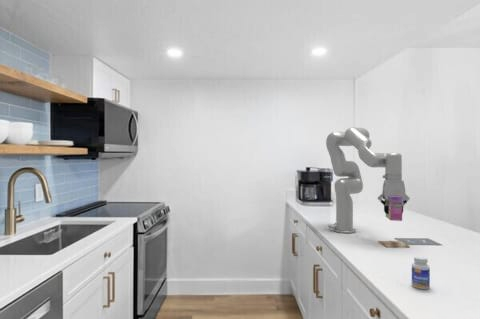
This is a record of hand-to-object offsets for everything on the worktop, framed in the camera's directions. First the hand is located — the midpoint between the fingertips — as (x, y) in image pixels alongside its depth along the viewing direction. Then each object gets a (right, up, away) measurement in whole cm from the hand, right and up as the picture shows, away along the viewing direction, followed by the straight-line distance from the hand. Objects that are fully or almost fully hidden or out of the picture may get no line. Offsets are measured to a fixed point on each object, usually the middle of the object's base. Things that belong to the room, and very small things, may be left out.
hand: (393, 213), depth 171 cm
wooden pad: (0, -16, 0) cm, 16 cm away
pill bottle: (-16, -16, -56) cm, 61 cm away
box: (0, -3, 0) cm, 3 cm away
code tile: (+15, -16, +6) cm, 23 cm away
